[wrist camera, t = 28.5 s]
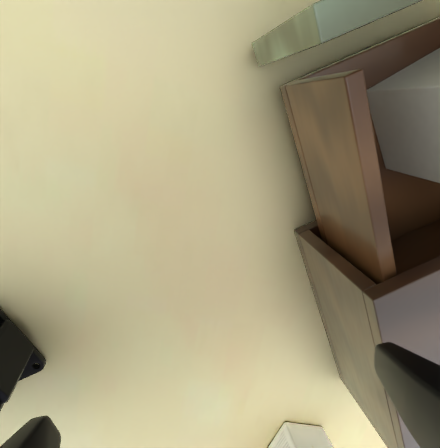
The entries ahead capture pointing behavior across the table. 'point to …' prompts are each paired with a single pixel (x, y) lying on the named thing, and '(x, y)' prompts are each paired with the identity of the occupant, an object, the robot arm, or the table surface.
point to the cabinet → (372, 324)
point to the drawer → (356, 138)
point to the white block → (410, 118)
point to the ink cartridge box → (300, 437)
